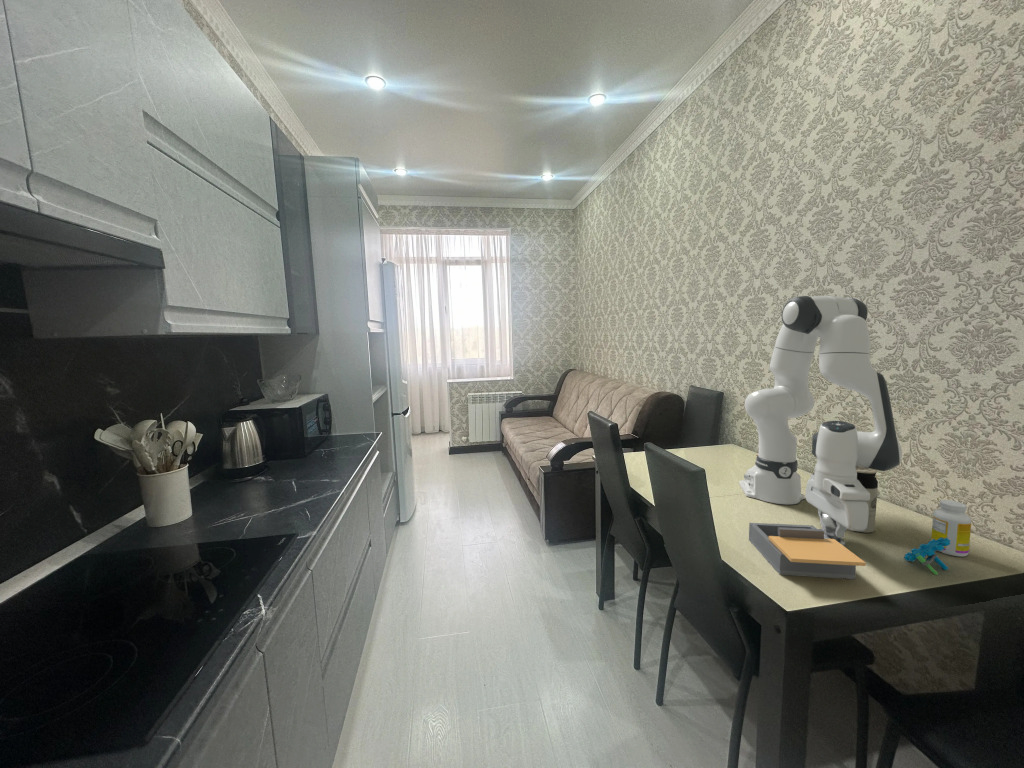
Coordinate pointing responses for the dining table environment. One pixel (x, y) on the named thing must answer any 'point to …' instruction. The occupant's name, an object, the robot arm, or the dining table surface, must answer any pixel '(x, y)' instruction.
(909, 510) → the dining table surface
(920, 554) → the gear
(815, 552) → the lid
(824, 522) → the silver rounded cylinder
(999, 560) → the dining table surface
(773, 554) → the housing
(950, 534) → the supplement bottle
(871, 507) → the travel mug
